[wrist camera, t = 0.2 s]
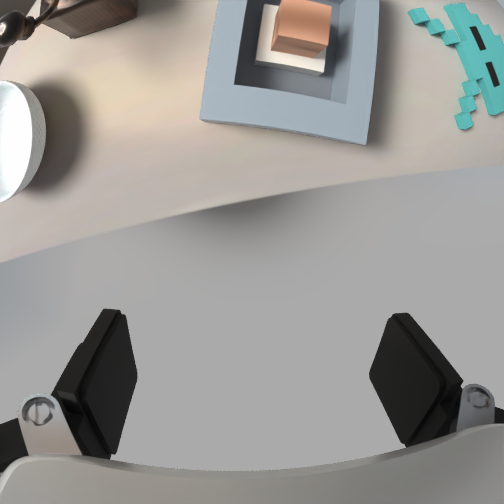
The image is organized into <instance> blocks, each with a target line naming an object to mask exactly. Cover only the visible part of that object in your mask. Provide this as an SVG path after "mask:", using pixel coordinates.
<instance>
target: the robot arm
mask: <svg viewBox="0 0 504 504" xmlns="http://www.w3.org/2000/svg"><path fill="white" fill-rule="evenodd" d="M369 377H370V380H371V382H372V384H373V386H374V388H375V390H376V392H377V394H378V396H379V398H380V400H381V402H382V404H383V407H384V409H385V411H386V413H387V415H388V417H389V419H390V421H391V423H392V425H393V427H394V429H395V432H396V434H397V436H398V438H399V440H400V442H401V443H402V444H405V446H406V448H404V449H400V450H396V451H392V452H388V453H384V454H380V455H375V456H371V457H367V458H361V459H356V460H351V461H345V462H340V463H333V464H327V465H320V466H312V467H304V468H294V469H281V470H265V471H203V470H186V469H174V468H164V467H155V466H146V465H139V464H132V463H126V462H119V461H114V460H110V457H111V454H116V452H117V449H118V445H119V441H120V438H121V434H122V430H123V427H124V423H125V419H126V416H127V412H128V409H129V405H130V402H131V399H132V395H133V392H134V389H135V385H136V382H137V369H136V365H135V360H134V355H133V350H132V346H131V341H130V335H129V330H128V325H127V319H126V316H125V315H124V314H121V311H120V310H114V309H103V310H102V312H101V314H100V315H99V317H98V318H97V320H96V322H95V323H94V325H93V326H92V328H91V330H90V331H89V333H88V335H87V337H86V338H85V340H84V342H83V343H81V344H80V345H79V346H78V347H77V349H76V350H75V352H74V354H73V356H72V357H71V359H70V361H69V363H68V365H67V366H66V368H65V370H64V372H63V373H62V375H61V377H60V379H59V381H58V382H57V385H56V386H55V388H54V390H53V392H52V394H51V395H49V394H46V393H36V394H32V395H30V396H28V397H26V398H25V399H24V400H23V401H22V402H21V404H20V405H19V408H18V411H17V412H18V418H16V419H13V420H10V421H8V422H5V423H3V424H0V504H504V410H503V409H500V408H497V407H495V402H494V397H493V395H492V394H491V393H490V391H489V390H488V389H486V388H485V387H483V386H481V385H478V384H469V385H467V386H465V387H464V388H463V389H462V388H461V384H462V383H463V380H462V378H461V377H460V376H459V374H458V373H457V372H456V370H455V369H454V368H453V367H452V365H451V364H450V363H449V362H448V360H447V359H446V358H445V356H444V355H443V354H442V353H441V351H440V350H439V349H438V348H437V346H436V345H435V344H434V343H433V342H432V340H431V339H430V338H429V337H428V336H427V334H426V333H425V332H424V331H423V330H422V328H421V327H420V326H419V325H418V324H417V322H416V321H415V320H414V319H413V318H412V317H411V316H410V314H408V313H395V314H393V315H392V317H391V318H389V319H388V321H387V324H386V327H385V330H384V333H383V336H382V339H381V342H380V345H379V347H378V350H377V353H376V356H375V358H374V361H373V364H372V366H371V369H370V372H369Z"/></svg>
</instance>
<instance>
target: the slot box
mask: <svg viewBox="0 0 504 504" xmlns="http://www.w3.org/2000/svg"><path fill="white" fill-rule="evenodd" d="M281 1H282V0H218V5H217V10H216V16H215V21H214V26H213V32H212V37H211V43H210V49H209V55H208V61H207V68H206V74H205V81H204V88H203V95H202V103H201V110H200V118H199V119H200V120H202V121H204V122H210V123H221V124H231V125H240V126H249V127H257V128H264V129H271V130H278V131H285V132H291V133H297V134H303V135H308V136H314V137H319V138H324V139H329V140H334V141H339V142H344V143H352V144H361V145H366V141H367V134H368V128H369V120H370V113H371V105H372V97H373V88H374V78H375V68H376V56H377V43H378V26H379V0H308V1H312V2H316V3H320V4H324V5H328V6H332V9H331V20H330V30H329V40H328V46H327V47H326V48H324V49H323V50H322V51H321V52H320V53H319V54H317V55H316V56H315V57H314V58H308V57H303V56H298V55H293V54H288V53H282V52H276V51H270V50H271V43H272V36H273V29H274V22H275V15H276V13H277V10H278V8H279V6H280V3H281Z"/></svg>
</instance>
